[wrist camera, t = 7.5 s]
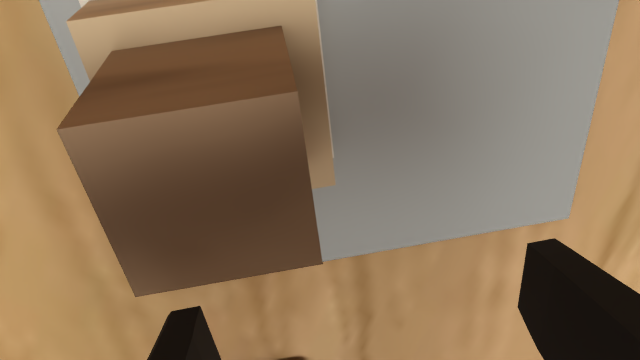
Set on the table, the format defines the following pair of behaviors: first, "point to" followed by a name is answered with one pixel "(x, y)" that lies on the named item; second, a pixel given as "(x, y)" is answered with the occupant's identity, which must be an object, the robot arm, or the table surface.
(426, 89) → the build plate
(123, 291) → the table surface
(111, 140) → the walnut cube
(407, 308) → the table surface
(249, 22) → the oak base block
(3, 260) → the table surface
